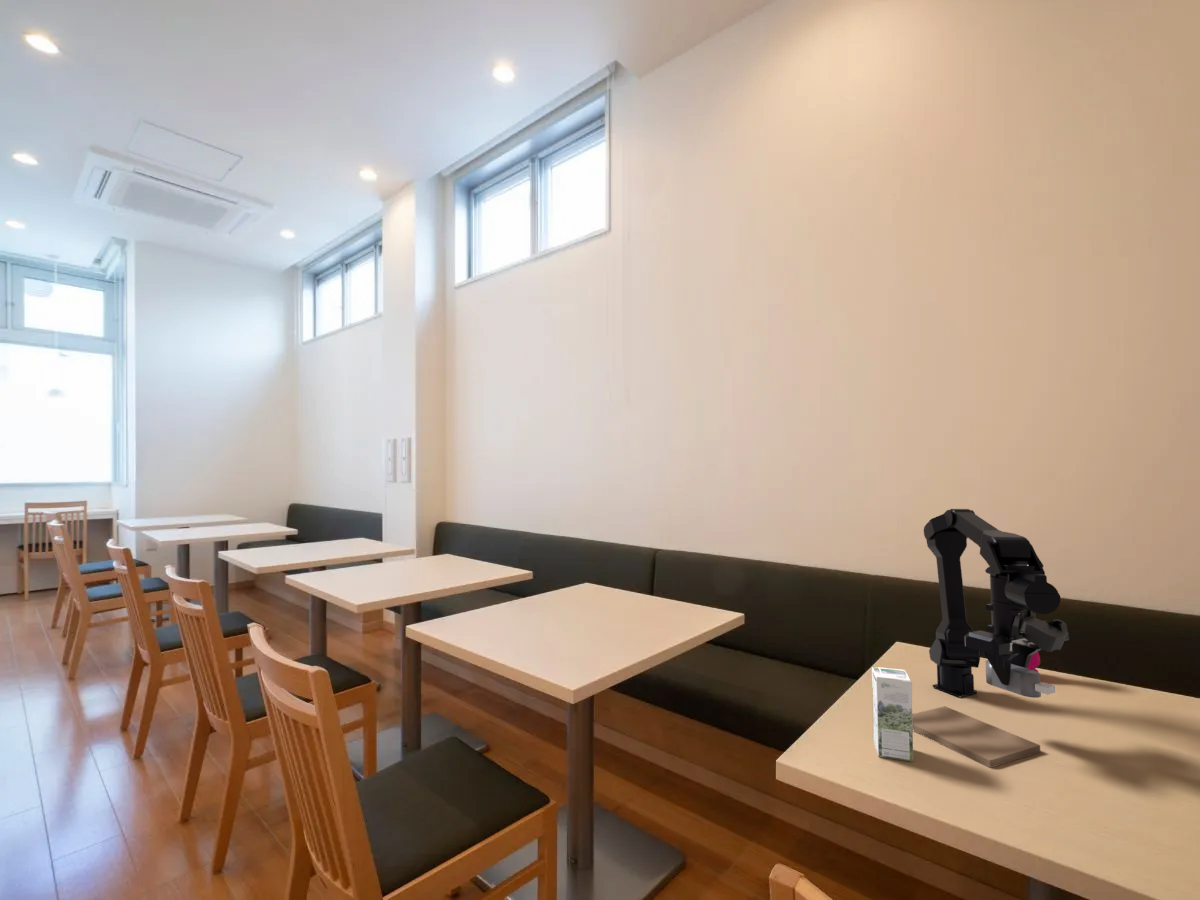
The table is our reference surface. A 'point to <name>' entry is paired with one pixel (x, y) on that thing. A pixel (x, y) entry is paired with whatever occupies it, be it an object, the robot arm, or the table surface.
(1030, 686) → the charcoal usb stick
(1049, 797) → the table surface
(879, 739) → the syrup box
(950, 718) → the walnut board
